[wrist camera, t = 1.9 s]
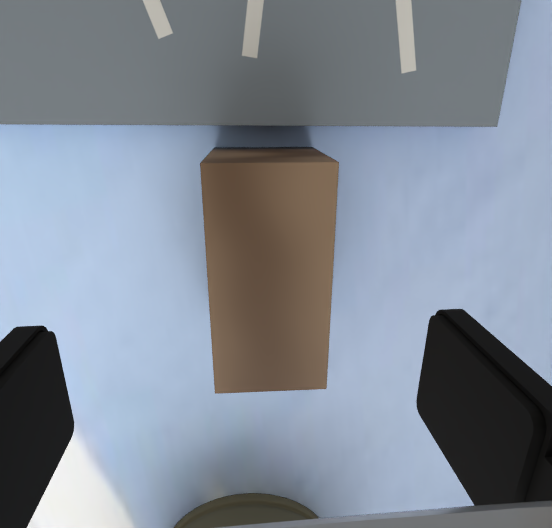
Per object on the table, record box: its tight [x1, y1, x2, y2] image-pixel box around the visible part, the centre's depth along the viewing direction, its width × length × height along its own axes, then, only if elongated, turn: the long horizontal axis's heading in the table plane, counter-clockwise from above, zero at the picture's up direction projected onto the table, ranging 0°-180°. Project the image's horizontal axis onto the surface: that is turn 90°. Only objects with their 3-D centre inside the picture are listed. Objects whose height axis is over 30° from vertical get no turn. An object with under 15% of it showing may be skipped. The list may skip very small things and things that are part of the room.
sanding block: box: [200, 147, 339, 393], centre depth 17 cm, size 4×9×6 cm, turn 0°
